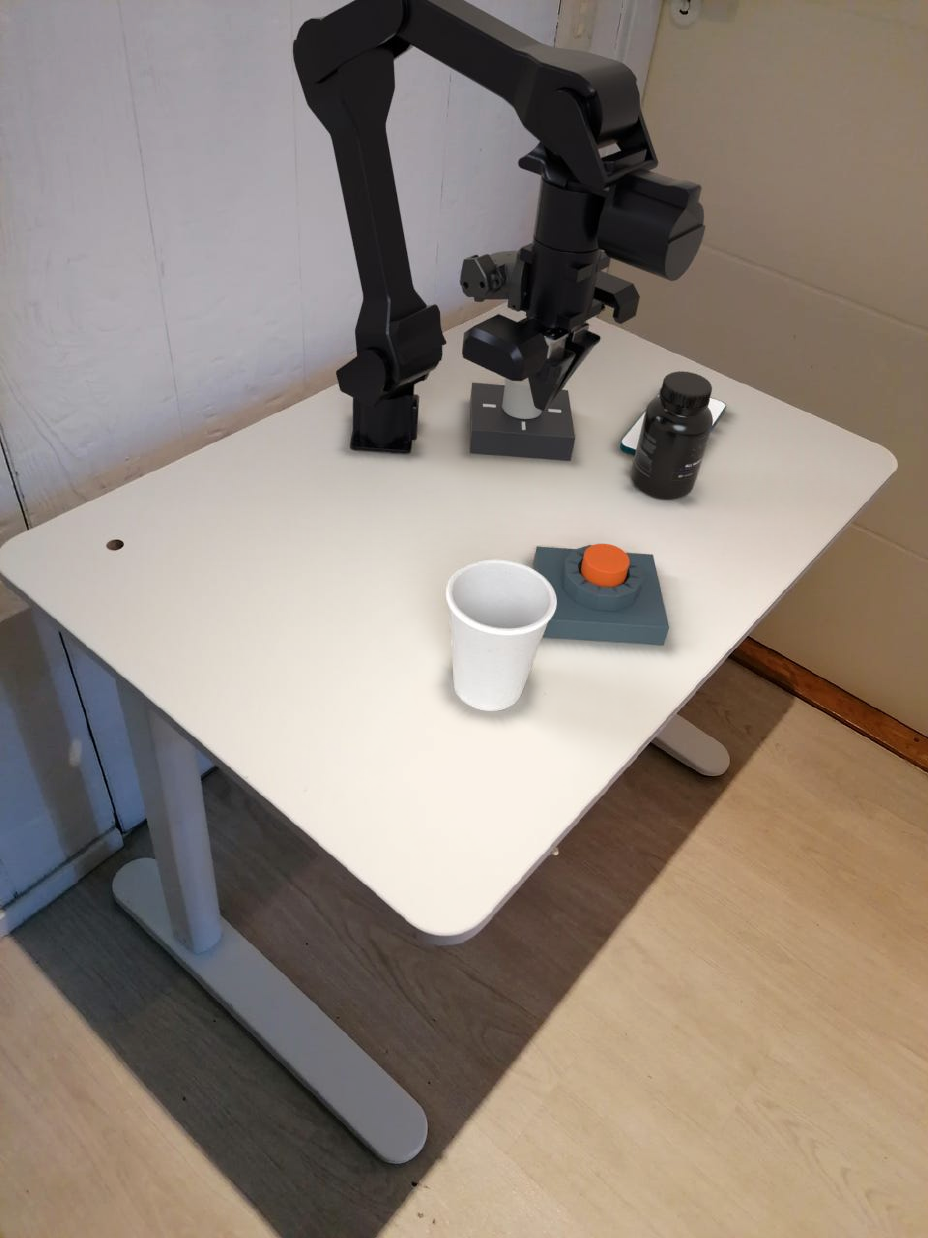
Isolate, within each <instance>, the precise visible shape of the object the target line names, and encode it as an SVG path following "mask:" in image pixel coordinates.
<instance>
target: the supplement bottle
mask: <svg viewBox="0 0 928 1238" xmlns="http://www.w3.org/2000/svg"><path fill="white" fill-rule="evenodd" d="M712 392H713V386H712V384H711V381H709V379H708V378H705V377H704V376H702V375H700V374H698V373H695V372H690V371H684V370H683V371H681V370H678V371H673V372H670V373H668V374H666V375H665V377H664V378H663V381H662V384H661V387H660V389H659V392H658V394H659V396H658V397H656V396H655V397H656V398H655V397H654V398H653V399H652V400H651V401H650V402H649V403H648V405H647V406H646V409H645V410H646V411H645V410H644V411H645V415H644V419H643V423H642V427H641V432H640V436H639V440H638V444H637V448H636V452H635V456H634V455H633V456H634V457H633V461H632V465H631V470H630V479H631V481H632V483H633V485H634V486H635V488H636V489H637V490H638V491H640V492H641V493H642V494H644V495H646V496H649V497H651V498H654V499H656V500H657V499H658V500H663V501H664V500H665V501H674V500H678V499H682V498H685V497H686V496H688V495H689V494H690V493H691V492H692V490H694V487H695V485H696V482H697V478H698V475H699V472H700V468H701V465H702V461H703V458H704V455H705V452H706V449H707V446H708V441H709V438H710V435H711V433H712V432H711V429H712V424H713V417H712V413H711V411H710V409H709V408H708V405H709V402H710V397H711V396H712ZM710 432H711V433H710Z"/></svg>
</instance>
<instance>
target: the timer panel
mask: <svg viewBox="0 0 928 1238" xmlns="http://www.w3.org/2000/svg"><path fill="white" fill-rule="evenodd" d="M504 388H505V384H498V383H497V384H496V383H495V384H494V383H483V382H471V388H470V396H469V454H474V455H485V456H486V455H487V456H499V457H501V456H502V457H512V458H524V459H525V458H526V459H541V460H550V461H551V460H553V461H566V462H571V461H572V457H573V452H574V448H575V447H574V446H575V442H576V433H575V428H574V420H573V413H572V408H571V407H572V406H571V400H570V393H569V390H568V389H562V390H561V391H560V393H559V394H558V396H557V397H556V398H555V400H554V401H553V403H552V404H551V405H550V407H549V408H548V409H546V410H544V411H542V413H541V414H540V415H539V416H537V417H535V418H531V419H520V418H515V417H512V416H510V415H508V414H507V413H506V412H505V411H504V410H503V408H502V403H503V396H504Z"/></svg>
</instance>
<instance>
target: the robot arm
mask: <svg viewBox="0 0 928 1238" xmlns="http://www.w3.org/2000/svg"><path fill="white" fill-rule="evenodd" d="M413 47H414V48H416V49H418V50H419V51H421V52H423V53H424V54H426V55H428V56H429V57H431V58H433V59H434V60H435V61H438V62H440V63H442V64H443V65H445V66H447V67H448V68H450V69H452V70H453V71H455V72H457V73H459V74H460V75H462V76H464V77H466V78H467V79H469V80H470V81H472V82H474V83H476V84H477V85H479V86H481V87H482V88H484V89H486V90H487V91H489V92H491V93H493V94H495V95H496V96H498V97H500V98H502V99H503V100H504V101H505V102H506V103H507V104H508V105H509V106H510V107H512V108H513V110H514V111H515V113H516V116H517V117H518V120H519V121H520V123H521V125H522V126H523V128H524V129H525V130H526V131H527V132H529V133H530V135H532V136H533V137H534V138H535V139H536V140H537V141H539V142H538V143H537V144H536V145H535V146H534V148H533V149H532V150H530V151H529V152H528V153H526V154H525V155H523V156H522V157H520V158H519V159H518V161H517V165H518V167H519V168H520V169H522V170H525V171H527V172H530V173H533V174H536V175H539V176H540V182H539V189H538V197H537V203H536V211H535V218H534V227H533V234H532V240H531V243H528V244H525V245H523V246H521V247H520V248H519V249H518V250H504V251H498V252H494V253H491V254H489V253H485V254H483V255H480V256H479V254H473V255H471V256H468V257H466V258H464V259H463V261H462V265H461V271H460V276H459V277H460V279H459V285H460V286H461V289H462V290H461V291H462V293H463V294H464V295H465V296H466V297H467V298H473V300H474V302H476V303H483V302H485V301H486V300H491V301H493V300H499V301H500V300H507V306H506V308H507V309H509V310H512V311H515V312H517V313H520V312H521V311H522V312H524V313H525V317H524V318H523V319H520V320H519V321H516V320H514V319H511V318H509V317H507V316H505V315H503V314H501V313H497V314H495V315H493V316H491V317H489V318H487V319H485V320H484V321H481V322H479V323H477V324H475V325H473V326H472V327H470V328H469V329H467V330H466V331H464V332H463V338H462V350H461V355H462V358H463V359H464V360H467V361H468V362H471V363H473V364H474V365H477V366H479V367H482V368H484V369H485V370H488V371H490V372H492V373H494V374H495V375H498V376H501V377H503V378H504V379H506V378H507V379H509V380H511V381H523V380H525V379H526V378H528V380H529V385H530V389H531V394H532V398H533V403H534V406H535V408H537V409H539V410H541V411H544V410H546V409H548V408H549V407H550V405H551V404H552V403H553V401H554V400H555V398H556V397H557V396H558V394H559V393H560V391H561V390H564V387H565V386H566V385H567V383H568V382H569V380H570V379H571V378H572V376H573V375H574V374H575V372H576V371H577V369H578V368H579V367H580V366H581V365H582V364H583V362H584V361H585V359H586V358H587V357H588V355H589V354H590V353H591V352H592V350H593V349H594V348H595V347H596V346H597V345H599V343H600V342H601V340H602V339H601V338H602V337H601V336H600V335H599V334H597V333H595V332H592V331H591V330H589V327H590V323H588V322H587V321H588V320H591V319H592V318H594V317H596V316H598V315H600V314H601V313H603V312H605V311H606V307H610V308H611V309H613V312H612V319H613V320H614V322H615V323H616V324H620V325H622V324H624V323H626V322H627V321H629V320H631V319H633V318H635V317H636V316H637V312H638V307H639V303H640V299H641V296H640V293H639V291H638V289H637V288H636V286H635V284H634V283H633V282H630V281H629V280H625V279H623V278H620V277H618V276H616V275H613V274H610V273H607V272H605V271H603V270H605V269H607V268H609V267H610V263H611V259H613V260H615V261H618V262H619V263H620V262H621V263H622V264H625V265H627V266H631V267H633V268H635V269H639V270H641V271H644V272H647V273H649V274H652V275H654V276H656V277H660V278H661V279H664V280H668V281H670V282H675V281H677V280H679V279H680V278H681V277H682V276H684V274H686V272H687V271H688V270H689V268H690V267H691V265H692V264H693V262H694V260H695V258H696V256H697V255H698V252H699V250H700V247H701V244H702V241H703V239H704V235H705V231H706V224H704V221H705V209H704V206H703V205H702V203H701V202H699V201H700V197H701V193H702V189H703V188H702V186H701V183H700V184H699V183H696V182H693V181H691V180H688V179H687V180H686V179H675V178H672V177H669V176H666V175H663V174H660V173H657V172H654V171H652V170H655V169H656V168H657V167H658V166H659V159H658V157H657V154H656V151H655V148H654V144H653V142H652V139H651V136H650V133H649V129H648V126H647V124H646V121H645V118H644V115H643V112H642V109H641V95H640V91H639V87H638V83H637V82H638V78H637V76H636V74H635V73H634V72H633V71H632V69H631V68H629V66H628V65H626V64H625V63H623V62H621V61H619V60H616V59H613V58H610V57H605V56H602V55H599V54H595V53H593V52H589V51H583V50H578V49H570V48H565V47H564V48H563V47H557V46H552V45H549V44H546V43H543V42H540V41H539V40H537V39H535V38H534V37H531V36H529V35H528V34H526V33H525V32H522V31H521V30H520V29H519V30H518V29H517V28H515V27H513V26H511V25H510V24H508V23H506V22H505V21H502V20H500V19H499V18H497V17H495V16H494V15H491V14H490V13H488V12H486V11H484V10H483V9H481V8H479V7H477V6H476V5H474V4H472V3H470V2H468V1H467V0H353V1H351V2H349V3H347V4H345V5H343V6H341V7H339V8H338V9H335V10H333V11H332V12H330V13H328V14H327V15H325V16H317V17H311V18H309V19H307V20H305V21H304V22H303V23H302V25H301V26H300V27H299V29H298V32H297V35H296V37H295V39H294V40H293V41H292V58H293V63H294V68H295V71H296V75H297V77H298V80H299V83H300V86H301V89H302V93H303V96H304V100H305V101H306V105H307V106H308V108H309V109H310V111H311V112H312V114H314V116H315V117H316V119H318V121H319V122H320V124H321V125H322V127H324V129H325V130H326V132H327V133H328V134H329V136H330V139H331V144H332V148H333V152H334V157H335V158H334V159H335V163H336V167H337V173H338V178H339V183H340V188H341V193H342V197H343V203H344V208H345V212H346V216H347V223H348V228H349V233H350V237H351V242H352V247H353V252H354V259H355V262H356V267H357V271H358V277H359V282H360V287H361V292H362V303H361V306H360V310H359V313H358V316H357V321H356V325H355V328H354V337H355V350H356V356H355V357H353V358H352V359H351V360H349V361H348V362H347V363H345V364H344V365H342V366H341V367H340V368H338V369H337V370H336V371H335V375H336V379H337V383H338V387H339V390H340V392H341V393H343V394H346V395H347V396H348V397H349V396H350V397H351V398H352V422H351V423H352V424H351V425H352V427H351V428H352V429H351V434H350V435H351V436H350V441H349V448H350V450H353V451H363V452H375V453H377V452H378V453H391V454H405V455H408V454H411V453H412V449H413V448H412V447H413V441H416V440H417V438H418V425H419V410H420V409H419V407H420V396H419V394H416V393H415V385H417V384H419V383H420V382H421V383H422V382H424V381H426V380H428V378H429V375H430V373H431V372H432V371H434V370H435V369H436V368H437V367H438V365H439V364H440V362H441V361H442V360H443V352H444V351H443V346H444V345H447V340H446V338H445V336H444V333H443V330H442V323H441V322H442V321H441V310H440V308H439V306H438V305H437V304H435V303H434V304H429V305H428V304H427V303H426V301H424V299H423V298H422V297H421V296H420V294H419V293H418V291H416V289H415V287H414V283H413V278H412V277H413V276H412V271H411V266H410V260H409V254H408V248H407V243H406V237H405V231H404V226H403V220H402V215H401V209H400V208H401V207H400V203H399V197H398V191H397V185H396V179H395V174H394V168H393V162H392V157H391V156H392V155H391V151H390V146H389V145H390V144H389V140H388V133H387V121H388V117H389V114H390V113H389V112H390V110H391V105H392V101H393V98H394V94H395V91H396V78H395V77H396V75H395V61H396V60H397V59H399V58H400V57H402V56H403V55H405V54H406V53H407V52H409V51H410V50H411V49H412V48H413ZM612 145H616V146H617V148H618V149H619V150H618V151H616V152H613V153H610V154H608V155H605V156H601V153H600V151H599V150H601V149H604V148H607V147H609V146H612Z"/></svg>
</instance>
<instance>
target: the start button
mask: <svg viewBox="0 0 928 1238" xmlns="http://www.w3.org/2000/svg"><path fill="white" fill-rule="evenodd" d="M591 545H592V546H590V547H588V548H587V549H586V551H585V553H584V557H583V561H582V566H581V573H582V575H583V577H584V578H585V579H586V580H587V581H589V582H591V583H593V584H596V585H598V586H603V587H616V586H619V585H620V584H622V583H623V582H624V581H625V578H626V575H627V571H628V567H629V563H630V560H629V557H628V555H627V554H626V553H627V552H626V551H624V550H623V549H622V548H620V547H618V546H616V545H614V544H609V543H595V544H591Z"/></svg>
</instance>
